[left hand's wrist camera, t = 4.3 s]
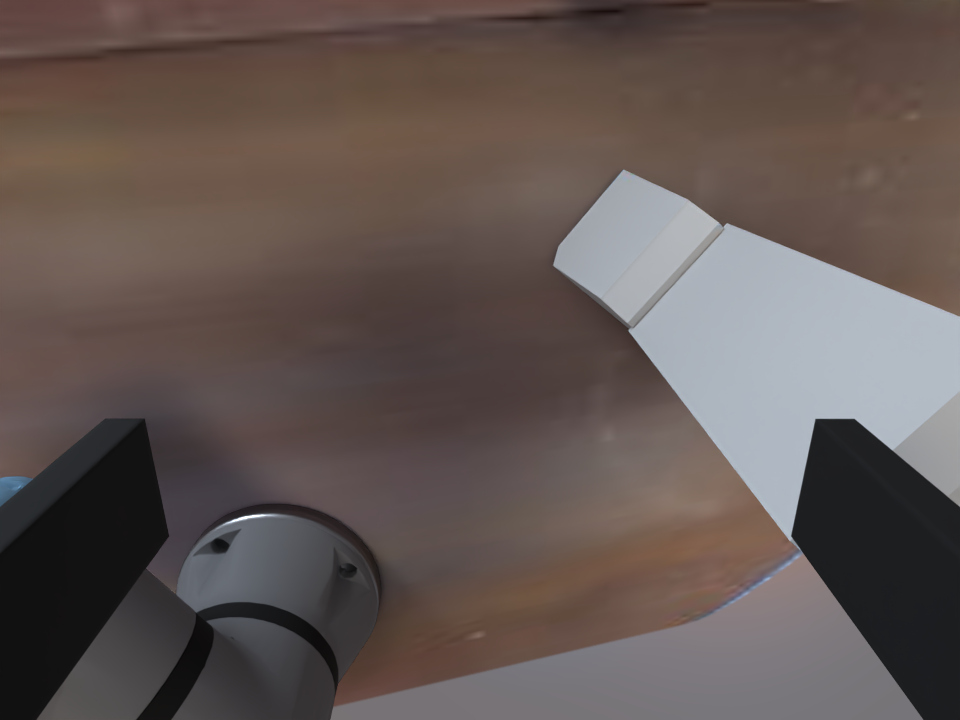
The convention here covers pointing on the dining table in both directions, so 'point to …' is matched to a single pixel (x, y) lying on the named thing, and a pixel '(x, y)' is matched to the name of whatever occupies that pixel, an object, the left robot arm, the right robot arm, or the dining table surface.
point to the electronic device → (769, 339)
